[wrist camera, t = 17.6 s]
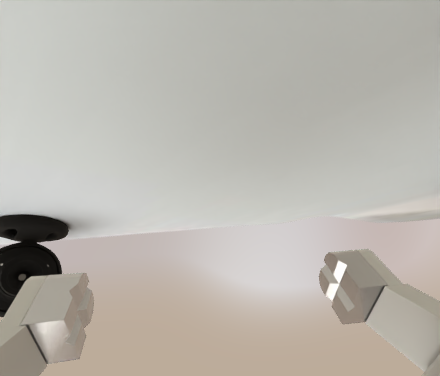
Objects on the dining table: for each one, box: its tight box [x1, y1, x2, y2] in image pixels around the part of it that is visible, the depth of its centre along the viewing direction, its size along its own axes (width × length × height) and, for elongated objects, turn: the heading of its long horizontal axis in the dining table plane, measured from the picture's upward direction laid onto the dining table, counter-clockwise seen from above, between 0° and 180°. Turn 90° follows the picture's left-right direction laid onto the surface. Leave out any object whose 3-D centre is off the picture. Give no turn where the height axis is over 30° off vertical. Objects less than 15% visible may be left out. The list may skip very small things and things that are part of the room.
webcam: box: [0, 215, 69, 317], centre depth 29 cm, size 8×8×10 cm
